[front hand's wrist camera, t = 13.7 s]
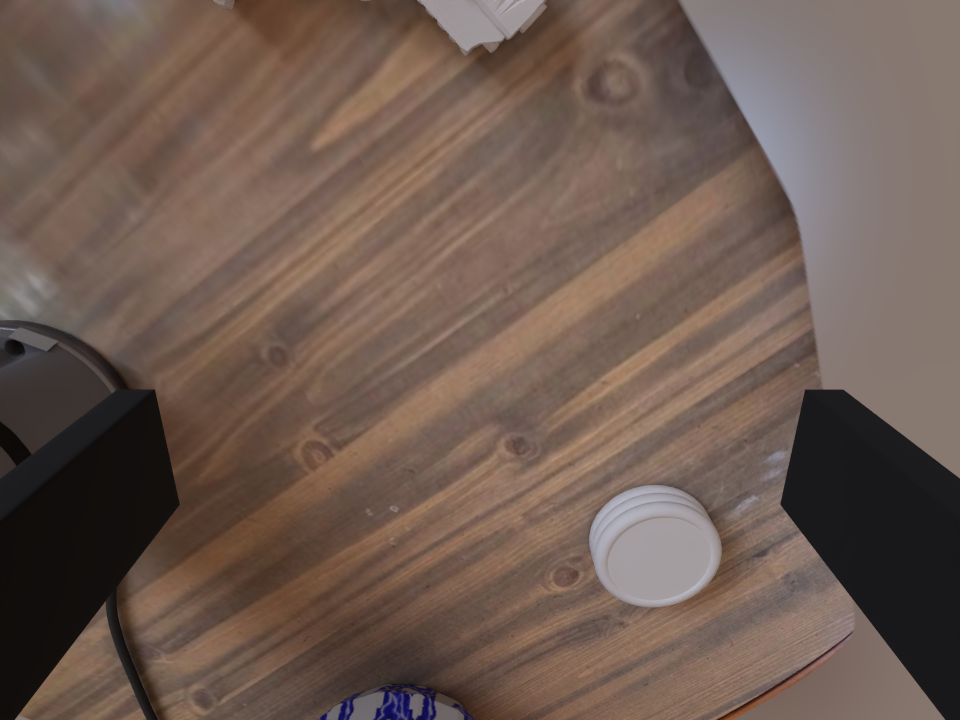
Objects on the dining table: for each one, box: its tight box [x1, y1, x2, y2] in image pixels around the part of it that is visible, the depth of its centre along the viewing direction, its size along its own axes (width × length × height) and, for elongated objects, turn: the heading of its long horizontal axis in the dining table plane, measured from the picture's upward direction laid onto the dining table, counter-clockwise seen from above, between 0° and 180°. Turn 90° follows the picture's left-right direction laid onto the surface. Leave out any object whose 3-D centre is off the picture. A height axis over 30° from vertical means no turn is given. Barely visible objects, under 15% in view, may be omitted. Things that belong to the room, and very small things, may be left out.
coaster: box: [589, 485, 722, 607], centre depth 50 cm, size 10×10×4 cm
